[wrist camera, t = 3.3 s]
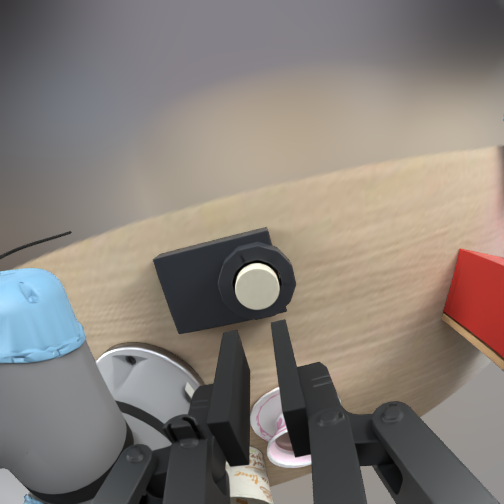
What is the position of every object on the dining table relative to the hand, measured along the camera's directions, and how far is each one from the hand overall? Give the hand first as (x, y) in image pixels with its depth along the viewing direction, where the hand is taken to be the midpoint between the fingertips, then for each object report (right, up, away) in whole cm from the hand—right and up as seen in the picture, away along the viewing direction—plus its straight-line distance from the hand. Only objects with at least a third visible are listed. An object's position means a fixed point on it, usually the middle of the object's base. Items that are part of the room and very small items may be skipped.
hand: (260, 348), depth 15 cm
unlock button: (0, +2, +11) cm, 11 cm away
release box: (-3, +2, +14) cm, 15 cm away
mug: (-4, -26, +21) cm, 33 cm away
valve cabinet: (+30, +1, +15) cm, 34 cm away
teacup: (+5, -16, +19) cm, 25 cm away
